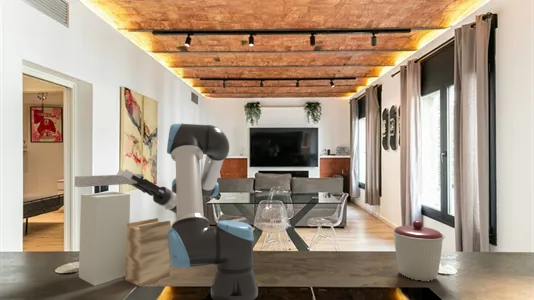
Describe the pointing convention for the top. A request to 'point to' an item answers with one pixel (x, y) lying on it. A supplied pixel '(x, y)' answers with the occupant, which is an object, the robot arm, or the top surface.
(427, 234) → the canister
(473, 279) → the top surface
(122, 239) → the unit
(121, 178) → the rail
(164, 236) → the light brown boxy piece
